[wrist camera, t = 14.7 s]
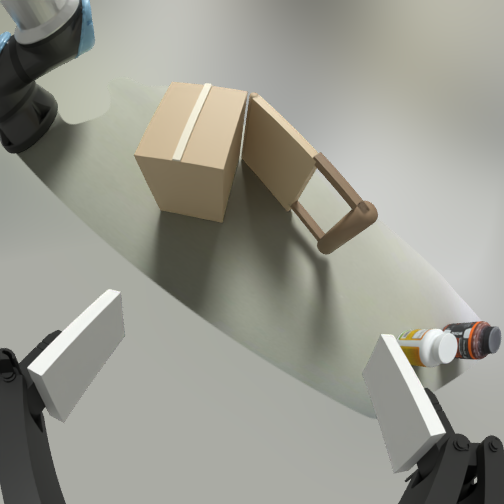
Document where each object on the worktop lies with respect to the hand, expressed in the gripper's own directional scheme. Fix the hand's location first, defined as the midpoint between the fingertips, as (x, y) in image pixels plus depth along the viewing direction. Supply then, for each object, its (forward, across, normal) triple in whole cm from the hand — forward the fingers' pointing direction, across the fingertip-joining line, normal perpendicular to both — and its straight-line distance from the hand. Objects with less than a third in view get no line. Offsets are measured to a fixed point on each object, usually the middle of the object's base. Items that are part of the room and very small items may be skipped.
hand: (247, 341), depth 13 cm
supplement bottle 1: (+20, +25, -14) cm, 35 cm away
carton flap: (+29, +2, +3) cm, 29 cm away
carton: (+29, -10, +4) cm, 31 cm away
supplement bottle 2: (+22, +35, -13) cm, 43 cm away
